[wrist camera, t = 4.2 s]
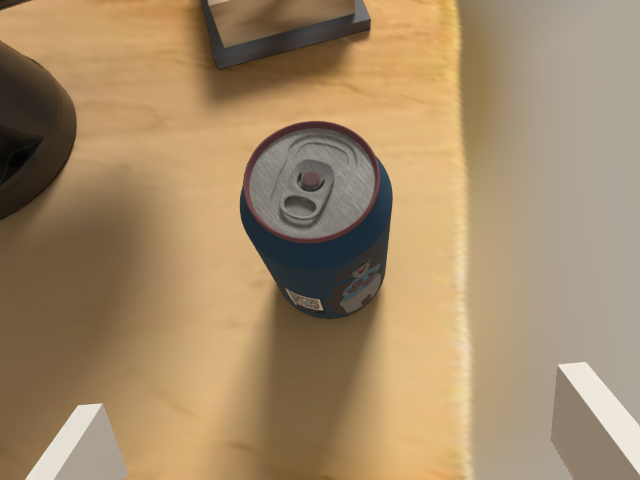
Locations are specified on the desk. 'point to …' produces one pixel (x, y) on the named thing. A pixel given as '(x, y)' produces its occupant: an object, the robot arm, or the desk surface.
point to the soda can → (319, 216)
